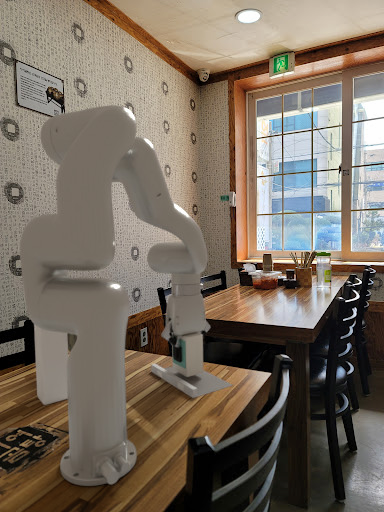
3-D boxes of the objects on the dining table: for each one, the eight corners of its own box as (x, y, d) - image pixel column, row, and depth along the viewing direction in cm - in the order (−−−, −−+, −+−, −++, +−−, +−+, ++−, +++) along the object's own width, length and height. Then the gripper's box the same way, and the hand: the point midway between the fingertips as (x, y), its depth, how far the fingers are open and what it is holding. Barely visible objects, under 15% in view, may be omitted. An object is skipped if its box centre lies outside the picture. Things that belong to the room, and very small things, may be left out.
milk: (44, 405, 84) (39, 310, 83) (37, 396, 89) (32, 306, 88) (70, 398, 88) (66, 307, 87) (62, 389, 93) (58, 303, 91)
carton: (203, 372, 96) (202, 334, 95) (186, 377, 93) (185, 338, 92) (188, 364, 101) (187, 329, 101) (171, 369, 98) (171, 332, 98)
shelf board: (233, 391, 90) (233, 377, 90) (192, 404, 84) (192, 389, 83) (188, 367, 107) (187, 355, 107) (150, 377, 100) (150, 364, 100)
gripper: (203, 285, 104) (204, 348, 105) (150, 291, 94) (151, 361, 95) (220, 288, 97) (221, 355, 99) (164, 295, 88) (166, 370, 89)
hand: (187, 357), depth 97 cm, fingers closed on carton, 5 cm apart
